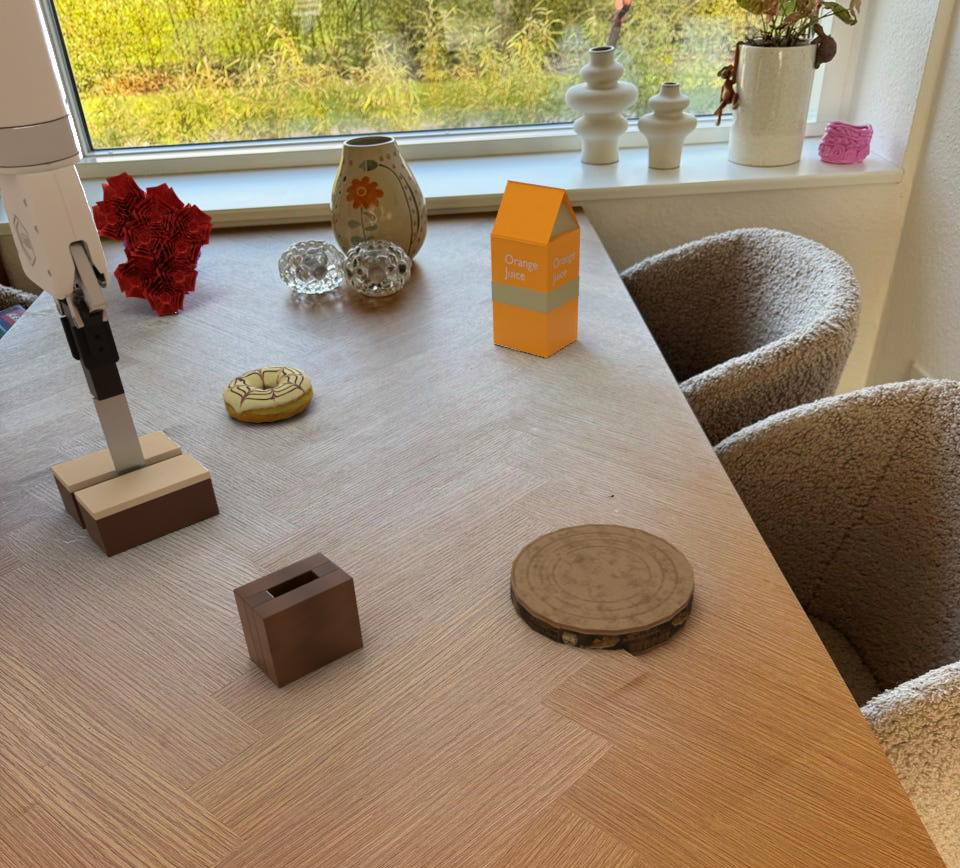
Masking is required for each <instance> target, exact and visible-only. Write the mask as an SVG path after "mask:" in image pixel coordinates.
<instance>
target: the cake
mask: <svg viewBox="0 0 960 868" xmlns="http://www.w3.org/2000/svg"><path fill="white" fill-rule="evenodd" d="M138 439H139V443H140V446H141V449H142V453H143V456H144V459H145V463H146V466H147V467H148V466H150V465H153V464H156V463H159V462H162V461H165V460H167V459H170V458H173V457H176V456H179V455H182V454H183V451H182V447H181V446H180V445H179V444H177V443H176V442H175V441H174V440H173V439H172V438H170V437H169V436H168V435H167V434H166V433H164V432H163V431H162V430H156V431H154V432H149V433H147V434H144V435H141V436H138ZM50 470H51V473H52V476H53V478H54V481H55V484H56V487H57V490H58V492H59V495H60V497H61V501H62V504H63V506H64V508H65V510H66V511H67V512H68V514H69V515H70V516H71V517H72V518H73V519H74V520H75V521H76V523H77V524H78V525H79V526H80V527H81V528H82V529H87V528H86V525H85V522H84V520H83V517H82V514H81V511H80V508H79V505H78V503H77V500H76V497H75V495H74V492H77V491H80V490H83V489H85V488H88V487H91V486H94V485H97V484H100V483H102V482H105V481H108V480H111V479H114V478H117V477H118V476H117V473H116V470H115V467H114V463H113V460H112V457H111V454H110V451H109V448H108V447H105V448H103V449H100V450H97V451H94V452H91V453H88V454H85V455H83V456H79V457H76V458H73V459H70V460H68V461H64V462H61V463H58V464H54V465H52V466H50Z"/></svg>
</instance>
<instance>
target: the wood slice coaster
mask: <svg viewBox="0 0 960 868" xmlns="http://www.w3.org/2000/svg"><path fill="white" fill-rule="evenodd" d="M510 570H511V571H510V577H509V588H510V591H509V592H510V593H509V594H510V600H511V603H512V606H513V607H514V610H515V612H516V615H517V616H518V617H519V618H520V619H521V621H523V622H524V623H525V625H527V626H528V628H530V629H531V630H532V631H533V632H535V633H538V634H539V635H541V636H544V637H545V638H547V639H549V640H551V641H553V642H555V643H558V644H562V645H566V646H570V647H573V648H578V649H582V650H598V651H619V650H624V651H625V652H627V653H628V654H630V655H631V656H633V657H634V656H639V655H644V654H646V653H650V652H651V651H653V650H656V649H658V648H660V647H663V646H666V645H667V644H669V643H670V642H671V641H672V640H674V638H676V637H677V636H678V635H679V634H680V633H681V632H683V631H684V629H685V627H686V625H687V623H688V621H689V618H690V616H691V613H692V609H693V601H694V593H695V585H696V584H695V576H694V567H693V566H692V564H691V563H690V561H689V560H688V559H687V557H686V556H685V554H684V552H683V551H682V550H680V549H679V548H677V546H675V545H673V544H672V543H671V542H669V541H668V540H667V539H665V538H663V537H660V536H658V535H655V534H653V533H651V532H648V531H645V530H644V529H639V528H635V527H630V526H624V525H620V524H605V523H585V524H579V525H573V526H566V527H561V528H558V529H556V530H553V531H551V532H547V533H544V534H542V535H539V536H538V537H537V538H535V539H534V540H532V541H531V542H529V543H527V545H525V546H523V547H522V549H521V550H520V552H518V554H517V555H516V557H515V559H513V561H512V563H511V569H510Z"/></svg>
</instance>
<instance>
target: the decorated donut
mask: <svg viewBox="0 0 960 868" xmlns="http://www.w3.org/2000/svg"><path fill="white" fill-rule="evenodd" d="M222 391H223V392H222V398H223V403H224V406H225V409H226V411H227V413H228V414H229V417H231V418H235V419H236V420H238V421H241V422H244V423H247V422H248V423H251V422H252V423H255V424H261V423H265V422H266V423H267V422H268V423H274V422H276V421H280V420H286V419H290V418H292V417H293V416H296V415H298V414H300V413H301V412H302V411H305V409H306V408H307V407H308V406H309V405H310V403H311V400H312V398H313V396H314V389H313V384H312V381H311V379H310V378H309V376H308V375H307V373H306V372H305V371H303V370H302V369H299V368H297V367H292V366H290V365H289V366H288V365H270V366H265V367H261V368H257V369H252V370H249V371H246V372H244V373H242V374H240V375H238V376H236V377H235V378H233V379H232V380H231V381H230V382H229V383H228V384H227V385H226V386H225V387H224V388H223V390H222Z"/></svg>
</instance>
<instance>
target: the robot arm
mask: <svg viewBox="0 0 960 868" xmlns="http://www.w3.org/2000/svg"><path fill="white" fill-rule="evenodd" d="M57 65H58V64H57V61H56V58H55V53H54V51H53V47H52V44H51V40H50V37H49V34H48V30H47V27H46V22H45V18H44V16H43V11H42V9H41V5H40V0H0V197H1V200H2V204H3V208H4V211H5V214H6V218H7V221H8V224H9V228H10V231H11V235H12V238H13V241H14V244H15V248H16V250H17V255H18V258H19V261H20V264H21V267H22V270H23V272H24V274H25V276H26V277H27V279H29V280H30V281H31V282H33V283H34V284H35V285H36V286H38V288H41V289H42V291H45V292H46V293H47V294H49V295H51V296H52V298H53V301H54V304H55V307H56V310H57V312H58V314H59V316H60V317H59V320H60V322H61V326H62V330H63V331H64V336H65V338H66V341H67V344H68V347H69V350H70V353H71V356H72V358H73V359H75V360H76V361H80V359H79V356H78V353H77V350H76V347H75V344H74V341H73V337H72V334H71V331H70V328H69V325H68V322H67V319H66V316H65V313H64V310H63V307H62V304H61V301H63V300H67V303H68V306H69V309H70V312H71V315H72V318H73V321H74V324H75V326H73V327H72V330H73V333H74V336H75V339H76V343H77V346H78V349H79V352H80V355H81V358H82V361H83V364H84V367H85V368H87V369H88V370H93V369H96V368H99V367H103V366H106V365H109V364H113V363H116V364H117V363H118V362H119V361H120V355H119V351H118V347H117V344H116V341H115V337H114V334H113V331H112V328H111V324H110V320H109V316H108V313H107V309H106V308H107V307H108V304H107V300H106V297H105V295H104V293H103V291H102V289H107V288H108V286H109V284H110V282H111V276H110V272H109V267H108V262H107V259H106V256H105V255H106V254H105V251H104V248H103V245H102V243H101V238H100V235H98V230H97V228H96V225H95V222H94V217H93V212H92V209H91V208H90V207H91V206H90V204H89V202H88V199H87V195H86V192H85V189H84V187H83V185H82V181H81V178H80V176H79V173H78V171H77V168H76V165H75V164H77V163H78V162H81V160H82V159H83V153H82V150H81V147H80V142H79V139H78V136H77V132H76V128H75V126H74V125H75V124H74V121H73V118H72V115H71V112H70V108H69V104H68V100H67V97H66V93H65V91H64V87H63V84H62V80H61V76H60V73H59V69H58V66H57ZM83 297H85V298H84V300H83V301H80V302H79V307H78V304H77V300H76V299H80V298H83Z"/></svg>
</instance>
